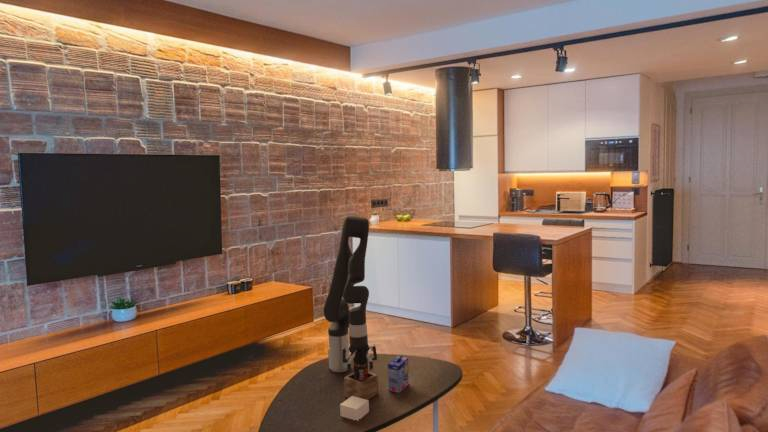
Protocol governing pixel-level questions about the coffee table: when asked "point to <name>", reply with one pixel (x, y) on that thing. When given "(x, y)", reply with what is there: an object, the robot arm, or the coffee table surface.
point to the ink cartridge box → (398, 374)
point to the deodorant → (360, 365)
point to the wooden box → (361, 386)
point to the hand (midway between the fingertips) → (360, 370)
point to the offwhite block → (354, 408)
